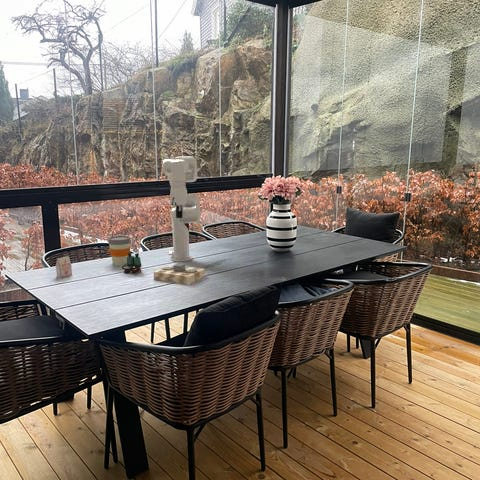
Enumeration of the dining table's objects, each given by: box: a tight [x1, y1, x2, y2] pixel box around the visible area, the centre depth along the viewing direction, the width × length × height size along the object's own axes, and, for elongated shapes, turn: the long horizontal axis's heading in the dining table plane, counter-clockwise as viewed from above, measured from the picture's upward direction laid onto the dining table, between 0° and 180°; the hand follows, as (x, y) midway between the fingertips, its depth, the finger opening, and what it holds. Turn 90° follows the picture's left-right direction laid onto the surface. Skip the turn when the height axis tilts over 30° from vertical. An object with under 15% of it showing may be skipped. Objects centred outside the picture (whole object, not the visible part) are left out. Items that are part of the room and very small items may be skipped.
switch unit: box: [153, 264, 206, 285], centre depth 252 cm, size 21×16×4 cm
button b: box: [172, 262, 186, 272], centre depth 251 cm, size 4×4×4 cm
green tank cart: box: [121, 251, 143, 275], centre depth 261 cm, size 9×11×10 cm
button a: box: [161, 266, 174, 271], centre depth 255 cm, size 4×4×4 cm
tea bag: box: [55, 256, 73, 279], centre depth 256 cm, size 4×7×10 cm, turn 141°
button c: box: [185, 270, 197, 274], centre depth 249 cm, size 4×4×4 cm
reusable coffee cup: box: [107, 235, 131, 266], centre depth 281 cm, size 13×13×15 cm
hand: (179, 217), depth 262 cm, fingers closed
